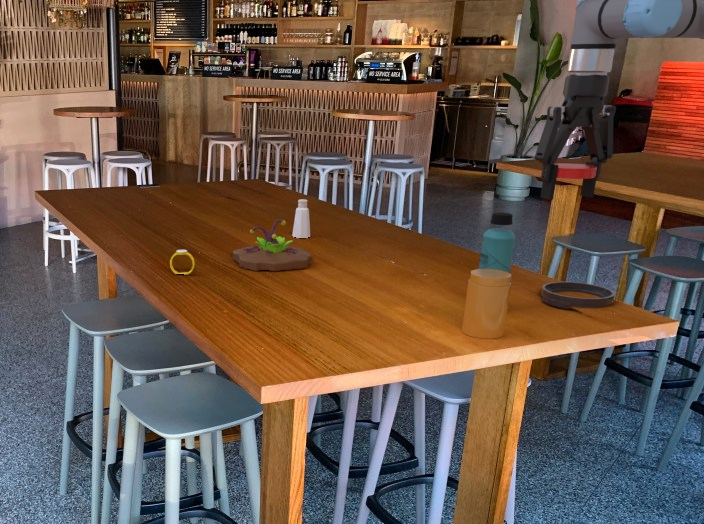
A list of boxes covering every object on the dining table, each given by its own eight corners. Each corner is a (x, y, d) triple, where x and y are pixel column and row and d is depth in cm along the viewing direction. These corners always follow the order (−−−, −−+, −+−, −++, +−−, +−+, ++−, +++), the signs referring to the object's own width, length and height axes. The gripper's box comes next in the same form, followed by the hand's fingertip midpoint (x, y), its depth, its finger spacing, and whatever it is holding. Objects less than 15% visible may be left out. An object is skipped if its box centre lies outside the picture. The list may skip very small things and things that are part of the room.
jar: (511, 336, 149) (521, 276, 145) (476, 340, 148) (485, 279, 143) (487, 325, 156) (496, 267, 152) (453, 328, 154) (461, 270, 150)
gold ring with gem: (195, 273, 196) (195, 249, 194) (193, 276, 193) (193, 252, 191) (171, 272, 197) (171, 249, 194) (169, 275, 194) (169, 251, 192)
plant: (320, 270, 199) (323, 225, 195) (244, 273, 196) (245, 227, 192) (298, 252, 217) (300, 211, 213) (228, 255, 214) (229, 213, 210)
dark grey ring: (627, 309, 166) (630, 296, 165) (569, 315, 162) (572, 301, 161) (580, 292, 178) (582, 279, 177) (526, 297, 175) (528, 284, 174)
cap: (536, 174, 157) (537, 164, 156) (573, 172, 159) (574, 162, 158) (566, 179, 149) (568, 169, 148) (605, 177, 151) (607, 167, 151)
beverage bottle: (488, 302, 171) (501, 209, 164) (512, 310, 166) (527, 214, 158) (465, 306, 169) (478, 211, 161) (489, 314, 163) (503, 216, 156)
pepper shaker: (302, 234, 241) (304, 197, 237) (314, 237, 237) (316, 200, 233) (288, 236, 238) (289, 199, 234) (299, 239, 234) (301, 201, 230)
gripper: (619, 73, 153) (597, 192, 162) (525, 74, 148) (507, 197, 156) (650, 74, 147) (626, 197, 155) (553, 74, 141) (533, 202, 149)
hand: (566, 197), depth 156 cm, fingers closed on cap, 9 cm apart
